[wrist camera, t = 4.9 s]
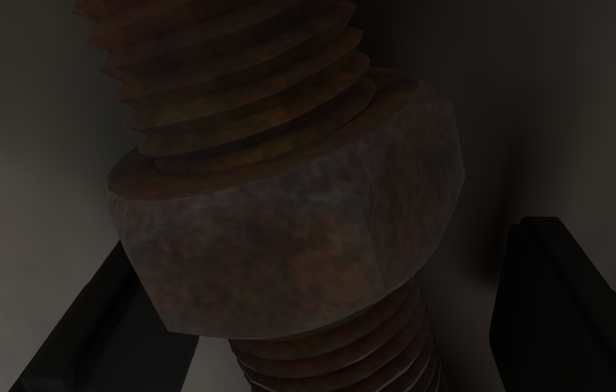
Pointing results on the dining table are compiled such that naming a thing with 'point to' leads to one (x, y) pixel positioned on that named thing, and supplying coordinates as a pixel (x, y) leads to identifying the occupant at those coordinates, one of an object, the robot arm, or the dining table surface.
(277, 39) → the bolt
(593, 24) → the dining table surface
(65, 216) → the dining table surface
